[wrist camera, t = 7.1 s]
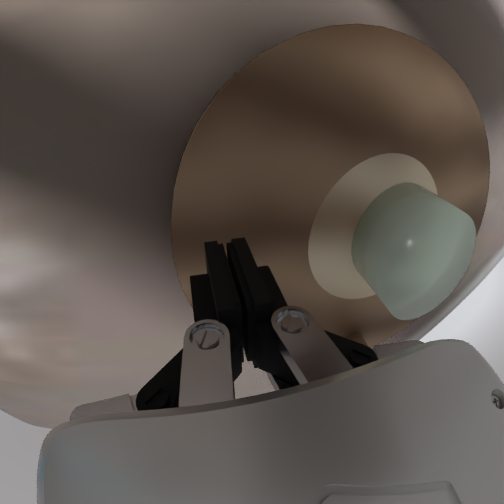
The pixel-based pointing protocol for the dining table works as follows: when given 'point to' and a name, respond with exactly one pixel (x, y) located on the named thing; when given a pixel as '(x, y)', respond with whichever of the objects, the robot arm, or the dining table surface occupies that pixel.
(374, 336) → the disc
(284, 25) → the dining table surface
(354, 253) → the sage green rounded cylinder
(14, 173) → the dining table surface
